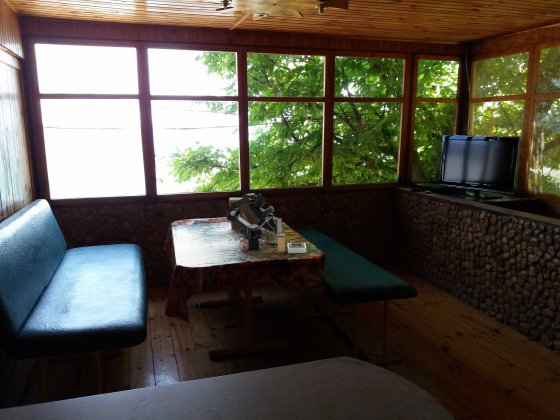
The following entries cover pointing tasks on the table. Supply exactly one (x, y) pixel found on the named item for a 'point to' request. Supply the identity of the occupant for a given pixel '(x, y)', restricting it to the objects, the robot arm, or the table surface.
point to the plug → (281, 242)
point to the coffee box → (272, 236)
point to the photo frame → (243, 215)
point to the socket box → (296, 248)
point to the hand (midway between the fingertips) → (274, 229)
